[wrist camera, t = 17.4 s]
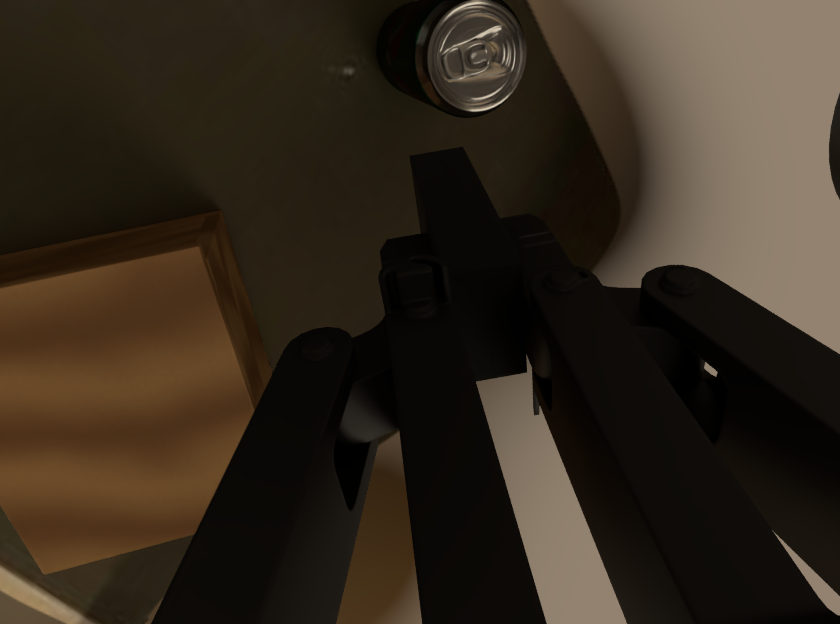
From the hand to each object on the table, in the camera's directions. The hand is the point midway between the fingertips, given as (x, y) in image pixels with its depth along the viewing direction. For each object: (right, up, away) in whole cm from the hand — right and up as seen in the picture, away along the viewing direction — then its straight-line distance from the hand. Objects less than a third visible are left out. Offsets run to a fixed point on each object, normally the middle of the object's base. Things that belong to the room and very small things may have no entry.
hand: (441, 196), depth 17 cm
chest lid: (-17, -9, +14) cm, 24 cm away
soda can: (-1, +12, +18) cm, 22 cm away
